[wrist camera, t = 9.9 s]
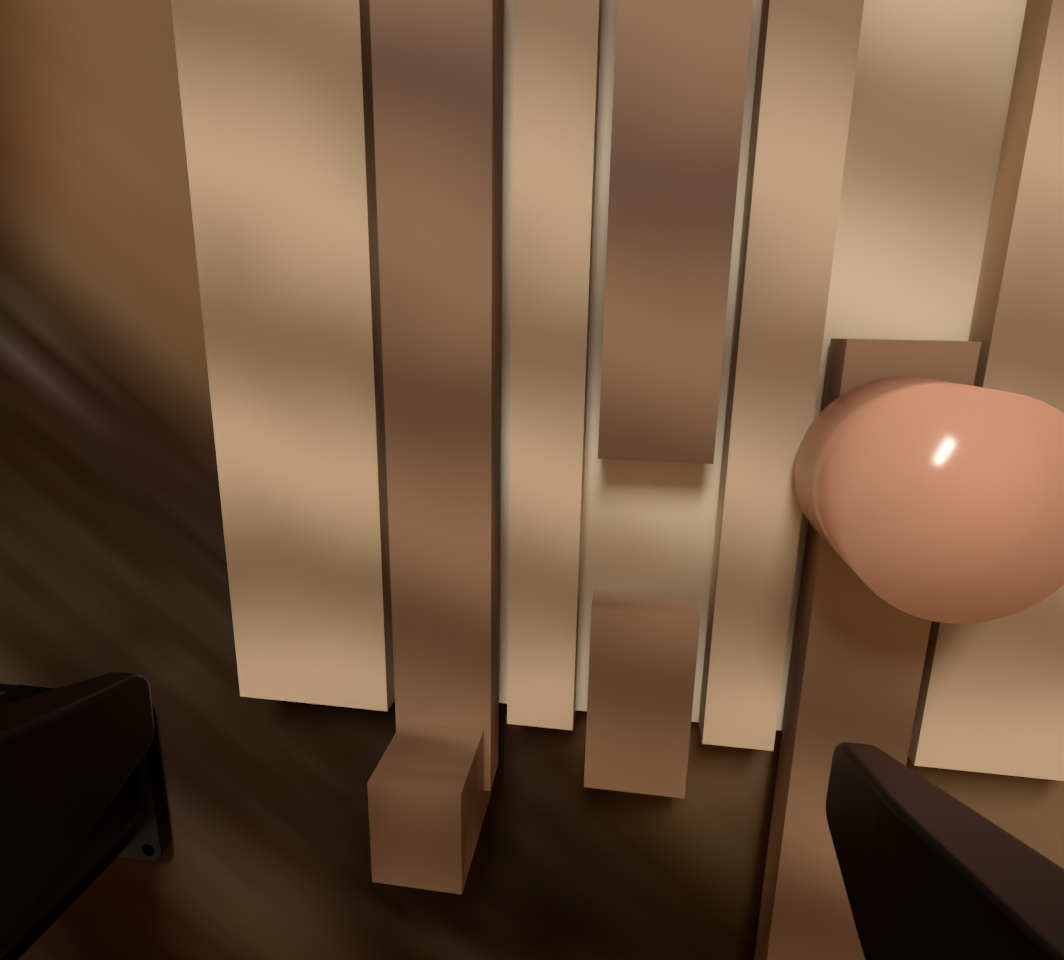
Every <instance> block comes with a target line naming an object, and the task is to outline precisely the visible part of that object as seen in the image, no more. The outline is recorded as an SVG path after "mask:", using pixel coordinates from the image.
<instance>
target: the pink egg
mask: <svg viewBox="0 0 1064 960" xmlns="http://www.w3.org/2000/svg"><path fill="white" fill-rule="evenodd" d="M795 488H796V493H797V497H798V501H799V504H800V506H801V508H802V511H803V513H804V514H805V516H806V518H807V520H808V521H809V522H810V524H811V525H812V526H813V527H814V529H815V530H816V531H817V532H818V533H819V534H820V535H821V536H822V538H823V539H824V540H825V541H826V542H827V543H828V544H829V545H830V546H831V547H832V548H833V549H834V550H835V552H836V553H837V554H838V555H839V556H840V557H841V558H842V559H843V560H844V561H845V562H846V563H847V564H848V566H849V567H850V568H851V569H852V570H853V571H854V572H855V573H856V574H857V575H858V576H859V577H860V579H861V580H862V581H863V582H864V583H865V584H866V585H867V586H868V587H869V588H870V589H871V590H872V591H873V592H874V593H875V594H876V595H877V596H879V597H880V598H881V599H883V600H884V601H886V602H887V603H888V604H890V605H892V606H893V607H895V608H897V609H899V610H901V611H903V612H905V613H908V614H910V615H913V616H916V617H918V618H922V619H926V620H930V621H935V622H942V623H953V624H968V623H979V622H986V621H991V620H996V619H1000V618H1003V617H1007V616H1010V615H1013V614H1016V613H1018V612H1021V611H1023V610H1025V609H1027V608H1030V607H1032V606H1033V605H1035V604H1037V603H1039V602H1040V601H1042V600H1044V599H1046V598H1047V597H1048V596H1050V595H1051V594H1053V593H1054V592H1055V591H1057V590H1058V589H1059V588H1061V587H1062V586H1063V585H1064V413H1062V412H1061V411H1060V410H1058V409H1056V408H1054V407H1052V406H1051V405H1049V404H1047V403H1045V402H1043V401H1040V400H1037V399H1034V398H1032V397H1029V396H1025V395H1021V394H1016V393H1012V392H1006V391H1000V390H995V389H989V388H983V387H977V386H971V385H965V384H959V383H953V382H947V381H942V380H936V379H930V378H924V377H915V376H893V377H887V378H880V379H877V380H873V381H870V382H866V383H864V384H862V385H859V386H857V387H854V388H853V389H851V390H849V391H847V392H846V393H844V394H842V395H841V396H839V397H838V398H836V399H835V400H834V401H832V402H831V403H830V404H829V405H828V406H827V407H826V408H825V409H824V410H822V411H821V413H820V414H819V415H818V416H817V417H816V419H815V420H814V421H813V422H812V424H811V425H810V427H809V429H808V430H807V432H806V434H805V436H804V438H803V440H802V442H801V444H800V448H799V451H798V454H797V458H796V464H795Z"/></svg>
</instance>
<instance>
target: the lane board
mask: <svg viewBox="0 0 1064 960" xmlns="http://www.w3.org/2000/svg"><path fill="white" fill-rule="evenodd" d="M171 7H172V17H173V27H174V37H175V47H176V57H177V67H178V77H179V87H180V97H181V107H182V117H183V127H184V137H185V147H186V157H187V167H188V177H189V187H190V197H191V207H192V217H193V227H194V237H195V247H196V257H197V267H198V278H199V288H200V298H201V308H202V318H203V328H204V338H205V348H206V358H207V368H208V378H209V388H210V398H211V408H212V418H213V428H214V438H215V448H216V458H217V468H218V478H219V488H220V498H221V508H222V518H223V528H224V538H225V548H226V558H227V568H228V578H229V588H230V598H231V608H232V618H233V628H234V638H235V649H236V659H237V669H238V679H239V689H240V696H242V697H252V698H262V699H271V700H281V701H291V702H301V703H310V704H320V705H330V706H340V707H349V708H359V709H369V710H378V711H388V710H389V708H390V707H391V705H392V703H393V702H394V700H395V687H394V660H393V632H392V605H391V578H390V550H389V523H388V496H387V468H386V441H385V413H384V386H383V359H382V331H381V304H380V277H379V249H378V222H377V195H376V167H375V140H374V112H373V85H372V58H371V30H370V3H369V0H171ZM831 338H839V339H891V340H942V341H973V342H981V346H980V351H979V357H978V363H977V368H976V374H975V380H974V385H973V386H977V387H983V388H989V389H995V390H1000V391H1006V392H1012V393H1016V394H1021V395H1025V396H1029V397H1032V398H1034V399H1037V400H1040V401H1043V402H1045V403H1047V404H1049V405H1051V406H1052V407H1054V408H1056V409H1058V410H1060V411H1061V412H1062V413H1064V0H503V68H502V236H501V404H500V572H499V703H506V704H507V724H514V725H524V726H534V727H544V728H553V729H563V730H573V724H574V716H575V710H577V711H587V724H586V748H585V771H584V787H588V788H596V789H605V790H614V791H623V792H631V793H640V794H649V795H658V796H666V797H675V798H684V799H685V790H686V778H687V766H688V754H689V743H690V731H691V722H698V724H699V729H700V735H701V740H702V744H709V745H719V746H728V747H738V748H748V749H758V750H767V751H773V750H774V742H775V734H776V730H780V731H782V729H783V721H784V713H785V705H786V697H787V689H788V681H789V673H790V665H791V657H792V649H793V640H794V632H795V624H796V616H797V608H798V600H799V592H800V584H801V576H802V568H803V560H804V551H805V543H806V535H807V527H808V520H807V518H806V516H805V514H804V513H803V511H802V508H801V506H800V504H799V501H798V497H797V493H796V488H795V464H796V458H797V454H798V451H799V448H800V444H801V442H802V440H803V438H804V436H805V434H806V432H807V430H808V429H809V427H810V425H811V424H812V422H813V421H814V420H815V419H816V417H817V416H818V415H819V414H820V413H821V411H822V406H823V398H824V390H825V382H826V374H827V365H828V357H829V349H830V341H831ZM908 757H909V758H910V760H911V761H912V763H913V764H914V766H923V767H933V768H942V769H952V770H962V771H971V772H981V773H991V774H1001V775H1010V776H1020V777H1030V778H1039V779H1049V780H1059V781H1064V585H1063V586H1062V587H1061V588H1059V589H1058V590H1057V591H1055V592H1054V593H1053V594H1051V595H1050V596H1048V597H1047V598H1046V599H1044V600H1042V601H1040V602H1039V603H1037V604H1035V605H1033V606H1032V607H1030V608H1027V609H1025V610H1023V611H1021V612H1018V613H1016V614H1013V615H1010V616H1007V617H1003V618H1000V619H996V620H991V621H986V622H979V623H968V624H953V623H942V622H935V621H932V622H931V628H930V633H929V639H928V644H927V650H926V656H925V661H924V667H923V673H922V678H921V684H920V690H919V695H918V701H917V706H916V712H915V718H914V723H913V729H912V735H911V740H910V746H909V752H908Z"/></svg>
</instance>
